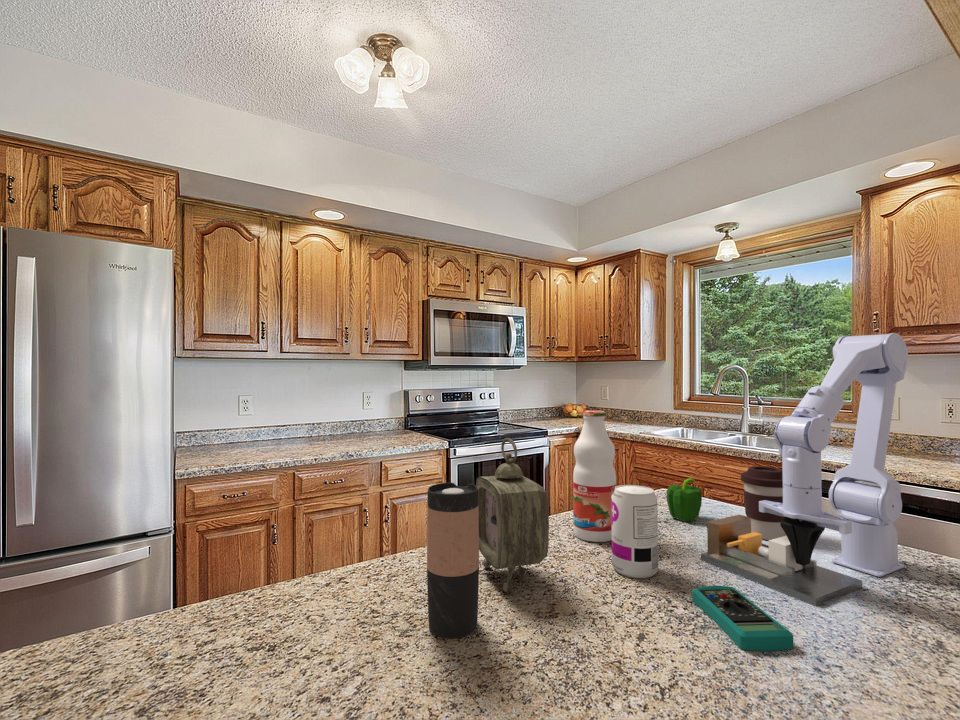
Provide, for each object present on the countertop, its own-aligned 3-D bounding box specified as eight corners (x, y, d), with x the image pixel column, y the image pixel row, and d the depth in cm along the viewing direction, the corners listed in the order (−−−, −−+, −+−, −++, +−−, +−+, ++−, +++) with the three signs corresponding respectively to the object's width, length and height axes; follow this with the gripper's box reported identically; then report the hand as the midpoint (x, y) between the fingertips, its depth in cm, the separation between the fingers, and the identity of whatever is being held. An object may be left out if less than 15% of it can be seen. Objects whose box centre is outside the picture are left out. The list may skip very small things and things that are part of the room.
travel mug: (439, 645, 66) (438, 497, 66) (419, 619, 73) (419, 485, 73) (488, 631, 70) (488, 490, 70) (465, 608, 76) (465, 480, 77)
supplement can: (609, 575, 88) (608, 492, 89) (614, 559, 96) (614, 482, 96) (657, 582, 85) (656, 496, 86) (658, 565, 93) (658, 486, 93)
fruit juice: (625, 537, 108) (624, 411, 109) (597, 546, 103) (596, 413, 103) (592, 526, 116) (591, 408, 116) (564, 534, 110) (564, 410, 111)
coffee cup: (803, 543, 104) (802, 473, 104) (756, 543, 104) (755, 473, 105) (775, 528, 114) (774, 464, 114) (733, 528, 114) (732, 464, 114)
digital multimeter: (733, 601, 80) (733, 582, 80) (796, 653, 65) (796, 631, 65) (689, 602, 79) (689, 584, 79) (742, 655, 64) (742, 633, 65)
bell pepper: (670, 523, 118) (670, 482, 118) (663, 513, 126) (663, 474, 126) (707, 525, 117) (707, 483, 117) (697, 515, 125) (697, 475, 125)
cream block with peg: (802, 569, 88) (802, 541, 88) (785, 574, 85) (785, 545, 85) (769, 557, 93) (769, 531, 93) (753, 562, 91) (752, 535, 91)
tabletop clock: (475, 565, 93) (474, 434, 93) (518, 559, 96) (518, 432, 96) (501, 599, 79) (501, 445, 80) (552, 591, 82) (551, 442, 83)
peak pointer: (762, 555, 94) (762, 534, 94) (732, 563, 90) (731, 542, 90) (754, 552, 96) (754, 532, 96) (724, 561, 91) (724, 539, 91)
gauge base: (862, 587, 83) (861, 545, 83) (816, 606, 77) (815, 560, 77) (746, 547, 102) (745, 513, 102) (700, 560, 95) (700, 523, 96)
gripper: (748, 479, 90) (749, 553, 90) (834, 497, 77) (836, 584, 77) (771, 475, 93) (772, 546, 93) (858, 492, 80) (859, 575, 80)
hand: (802, 563), depth 85 cm, fingers closed
